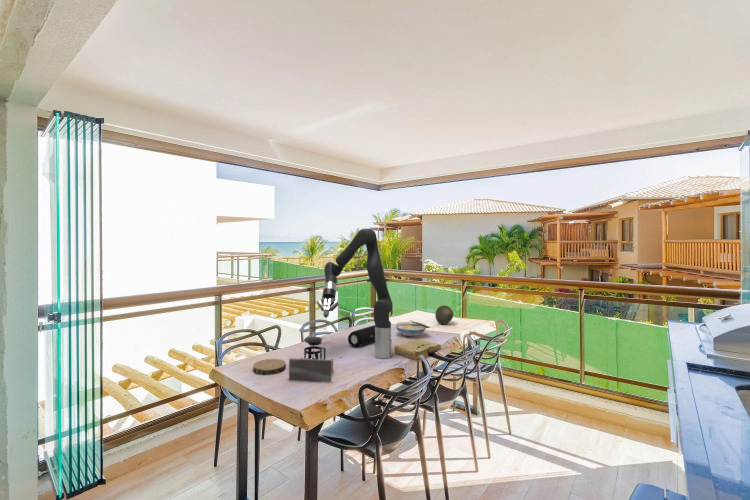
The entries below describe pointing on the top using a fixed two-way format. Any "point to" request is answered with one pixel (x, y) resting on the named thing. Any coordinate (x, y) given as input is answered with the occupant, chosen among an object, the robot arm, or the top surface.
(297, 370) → the docking bay
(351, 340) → the portable speaker
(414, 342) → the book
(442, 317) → the dark grey ball
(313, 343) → the french press
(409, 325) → the ramen bowl
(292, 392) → the top surface
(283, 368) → the wood slice
